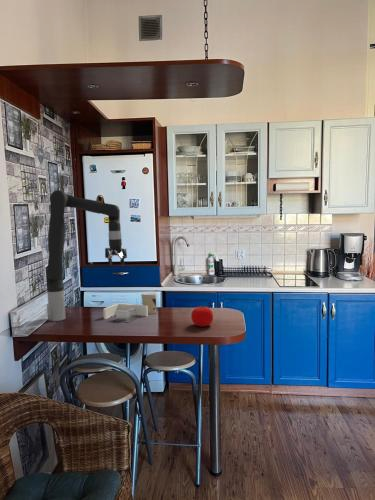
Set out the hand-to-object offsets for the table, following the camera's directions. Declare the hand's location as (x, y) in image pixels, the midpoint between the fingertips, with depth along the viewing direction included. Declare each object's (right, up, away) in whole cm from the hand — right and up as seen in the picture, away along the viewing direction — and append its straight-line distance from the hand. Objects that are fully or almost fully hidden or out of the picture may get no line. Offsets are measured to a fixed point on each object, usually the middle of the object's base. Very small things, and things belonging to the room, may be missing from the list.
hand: (116, 265), depth 225 cm
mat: (+8, -31, -8) cm, 33 cm away
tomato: (+51, -32, -24) cm, 65 cm away
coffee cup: (+20, -29, +5) cm, 36 cm away
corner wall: (+7, -31, -4) cm, 32 cm away
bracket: (+7, -30, -6) cm, 32 cm away
